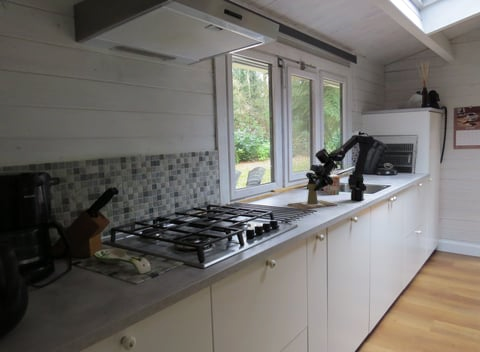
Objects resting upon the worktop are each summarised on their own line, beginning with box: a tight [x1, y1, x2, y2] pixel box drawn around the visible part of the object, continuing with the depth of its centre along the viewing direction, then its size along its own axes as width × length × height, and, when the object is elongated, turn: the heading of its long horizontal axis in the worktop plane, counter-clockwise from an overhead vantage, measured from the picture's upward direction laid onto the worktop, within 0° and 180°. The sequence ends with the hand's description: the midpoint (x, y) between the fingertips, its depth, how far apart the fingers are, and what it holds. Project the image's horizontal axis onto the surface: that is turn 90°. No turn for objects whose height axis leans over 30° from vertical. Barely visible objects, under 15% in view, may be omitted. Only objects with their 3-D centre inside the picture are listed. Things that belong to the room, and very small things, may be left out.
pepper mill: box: [306, 183, 318, 204], centre depth 208 cm, size 6×6×11 cm
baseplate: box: [287, 199, 338, 211], centre depth 209 cm, size 24×14×1 cm, turn 117°
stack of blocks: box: [322, 173, 341, 196], centre depth 254 cm, size 21×6×12 cm, turn 0°
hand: (310, 189), depth 207 cm, fingers open, 6 cm apart
